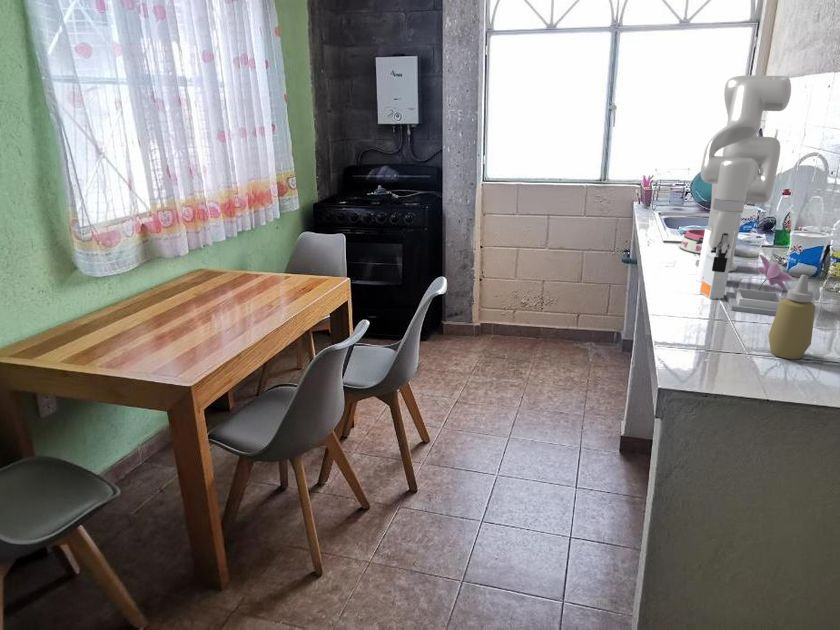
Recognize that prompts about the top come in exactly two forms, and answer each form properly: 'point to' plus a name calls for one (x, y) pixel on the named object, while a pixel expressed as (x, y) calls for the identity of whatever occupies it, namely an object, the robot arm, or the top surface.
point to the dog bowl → (693, 241)
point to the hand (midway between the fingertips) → (716, 267)
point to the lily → (773, 273)
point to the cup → (706, 249)
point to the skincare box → (714, 279)
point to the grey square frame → (754, 301)
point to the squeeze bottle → (793, 322)
